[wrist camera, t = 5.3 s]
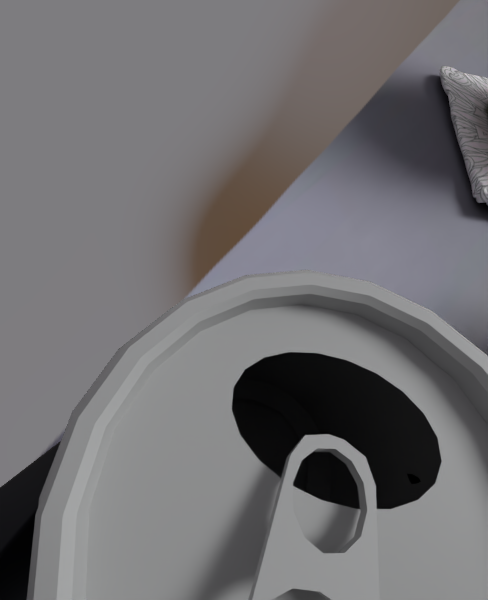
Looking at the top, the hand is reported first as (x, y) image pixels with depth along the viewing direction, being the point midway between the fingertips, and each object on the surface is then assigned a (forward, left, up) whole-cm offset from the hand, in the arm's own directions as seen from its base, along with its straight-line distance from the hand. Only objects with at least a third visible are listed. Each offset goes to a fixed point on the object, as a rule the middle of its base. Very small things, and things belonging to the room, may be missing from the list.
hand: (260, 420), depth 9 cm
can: (-1, 0, -7) cm, 7 cm away
